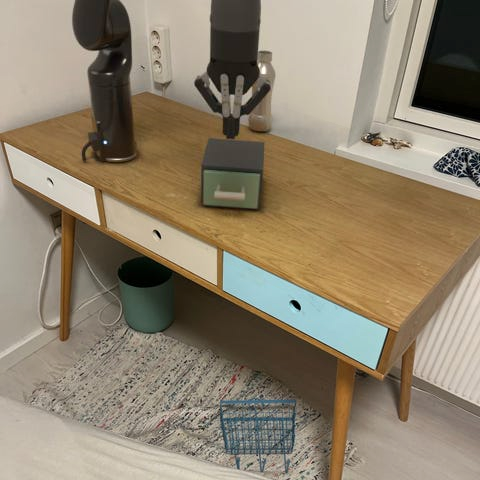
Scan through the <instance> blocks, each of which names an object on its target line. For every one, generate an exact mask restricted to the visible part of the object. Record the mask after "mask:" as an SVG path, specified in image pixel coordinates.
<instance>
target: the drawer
mask: <svg viewBox="0 0 480 480" xmlns="http://www.w3.org/2000/svg"><path fill="white" fill-rule="evenodd" d="M259 182H260V174H257V173H254V172H244V173H242V172H229V171H223V170H213V169H208V170H204V187H203V204H204V205H215V206H228V207H242V208H255V209H257V206H258V194H259Z"/></svg>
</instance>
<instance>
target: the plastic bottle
mask: <svg viewBox="0 0 480 480" xmlns="http://www.w3.org/2000/svg"><path fill="white" fill-rule="evenodd" d="M272 61H273V51H269V50H258V60H257V63H258V67H259V69H260V75H261V76H262V77H263V78H264V79H265V80H268V81H270V83H271V88H270V91H269V92H268V94H267V95H266V96H265V97H264V98H263V99H262V100H261V102H260V103H259V104H258V105H257V106H256V107H255V108H254V110H253V111H252V112H251V113H250V114H249V115H248V119H247V120H248V122H247V123H248V126H249V129H251V130H253V131H255V132H267V131H269V130H270V129H271V127H272V124H273V114H272V99H273V91H274V86H275V81H276V70H275V68H274V66H273V64H272ZM256 84H257V82H255V83H254V84H253V85H252V87H251V96H252V95H253V94H254V93H255V92H256V90H255V87H256Z"/></svg>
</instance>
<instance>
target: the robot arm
mask: <svg viewBox="0 0 480 480" xmlns="http://www.w3.org/2000/svg"><path fill="white" fill-rule="evenodd" d="M261 16H262V1H261V0H210V14H209V22H210V25H209V26H210V28H209V29H210V30H209V31H210V32H209V35H210V36H209V37H210V38H209V62H208V64H207V67H206V71H204V73H202V74H201V75H197V76H196V77H195V79H194V82H193V84H194V87H195V89H196V90H197V91H198V93H199V94H200V95H201V97H202V98H203V99H204V102H206V104H207V105H208V107H209V108H210V110H211V111H212V112H213V113H215V114H216V113H217V114H220V115H221V116H222V135H223V136H225V138H226V139H228V140H236V139H235V138H236V137H238V136H239V134H240V126H241V125H240V123H241V117H242V116H249V114H250V113H251V112H252V111H253V110H254V108H255V107H256V106H257V105H258V104H259V103H260V102H261V100H262V99H263V98H264V97H265V96H266V95H267V94H268V92H269V91H270V88H271V83H270V81H268V80H265V79H264V78H263V77H262V76H261V75H260V69H259V67H258V63H257V62H258V51H259V47H260V46H259V43H260V32H261V31H260V30H261V21H262V19H261ZM71 25H72V31H73V35H74V38H75V40H76V42H77V44H78V45H79V46H80V47H81V48H82V49H84V50H86V51H90V52H97V56H96V57H95V59H94V60H93V61H92V62H91V63H90V65H89V66H88V67H87V70H86V71H87V72H86V74H87V81H88V88H89V96H90V105H91V111H92V113H91V114H90V117H91V124H92V130H93V131H92V132H87V138H88V142H86V143H85V144H84V146H83V147H82V149H81V160H82V161H87V156H86V152H87V150H88V148H89V147H90V148H91V149H92V152H95V153H96V155H97V157H98V158H99V160H100V162H102V163H105V162H106V163H107V162H108V163H125V162H130V161H132V160H134V159H136V157H137V155H138V154H137V153H138V151H137V144H138V143H137V141H136V134H135V124H134V123H135V122H134V112H133V111H134V110H133V99H132V87H131V72H132V68H133V39H132V25H131V20H130V16H129V12H128V10H127V8H126V6H125V5H124V4H123V2H122V1H121V0H74V2H73V7H72V14H71ZM211 82H212V84H213V86H214V87H215V89H216V91H218V93H219V94H221V95H220V96H221V97H220V98H221V102H220V101H219V99H218V98H217V96H216V95H215V93H214V92H213V90H212V89H211V87H210V86H211ZM255 82H257V84H256V87H255V90H256V92H255V93H254V94H253V95H252V94H251V96H250V97H249V99H248V100H247V101H246V102H245V103H244V104H242V101H243V96H244V95H246V94H247V93H248V92H249V91H250V90H251V89H252V85H253V84H254V83H255ZM231 95H232V96H234V97H233V98H234V99H233V107H232V106H231ZM231 109H232V110H231Z"/></svg>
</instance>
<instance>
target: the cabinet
mask: <svg viewBox="0 0 480 480" xmlns="http://www.w3.org/2000/svg"><path fill="white" fill-rule="evenodd" d="M264 165H265V142H264V141H253V140H239V139H225V138H213V137H208V139H207V141H206V146H205V150H204V154H203V157H202V161H201V164H200V167H201V169H200V180H201V182H200V206H201V207H215V208H228V209H241V210H255V211H260V210H261V202H262V201H261V200H262V191H263V180H264ZM208 169H213V170H226V171H240V172H254V173H257V174H260V182H259V194H258V206H257V209H255V208H242V207H228V206H215V205H204V204H203V187H204V170H208Z"/></svg>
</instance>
